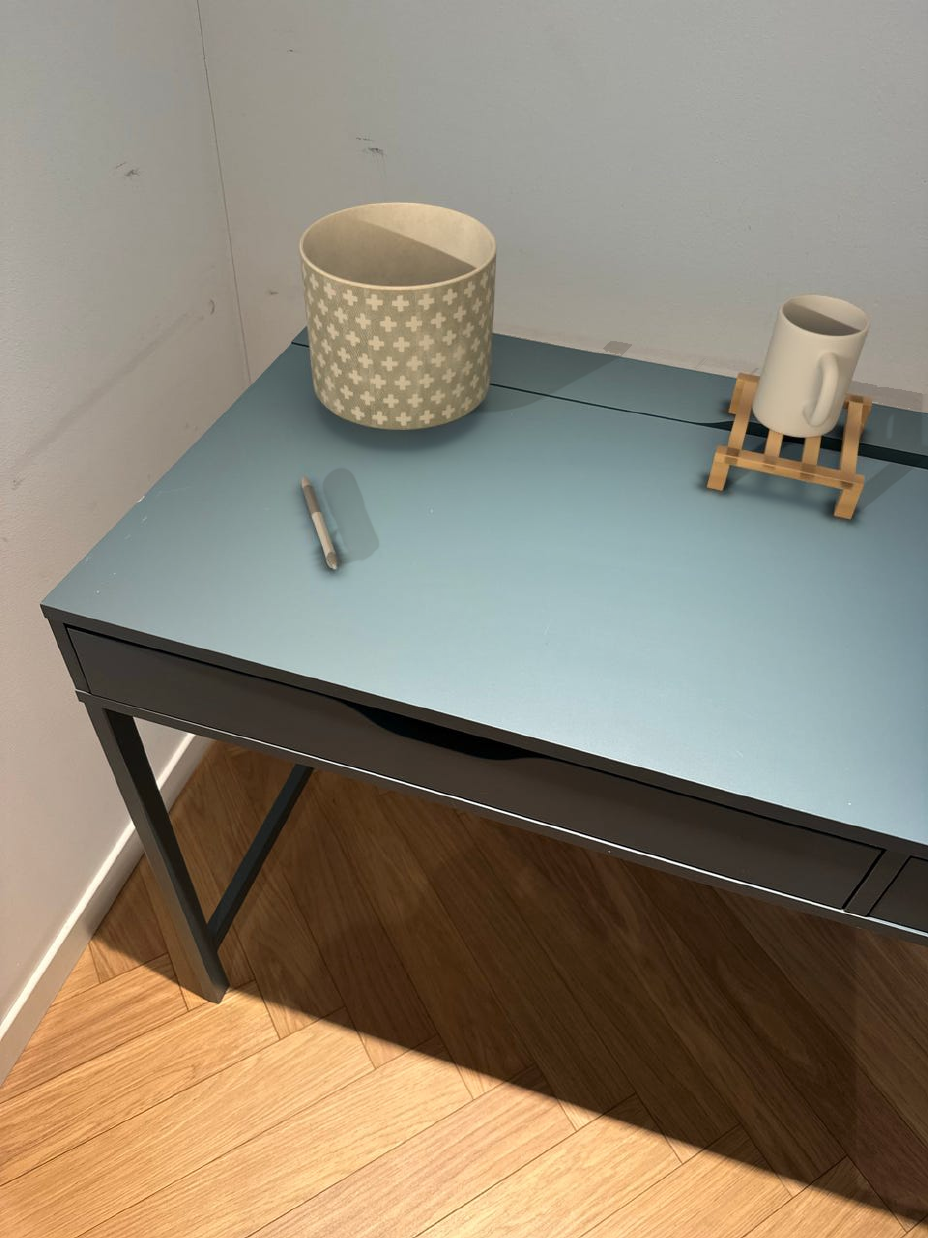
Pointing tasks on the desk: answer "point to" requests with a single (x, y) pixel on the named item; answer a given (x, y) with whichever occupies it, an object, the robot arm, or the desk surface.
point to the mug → (809, 365)
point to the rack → (807, 467)
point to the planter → (399, 313)
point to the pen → (319, 523)
